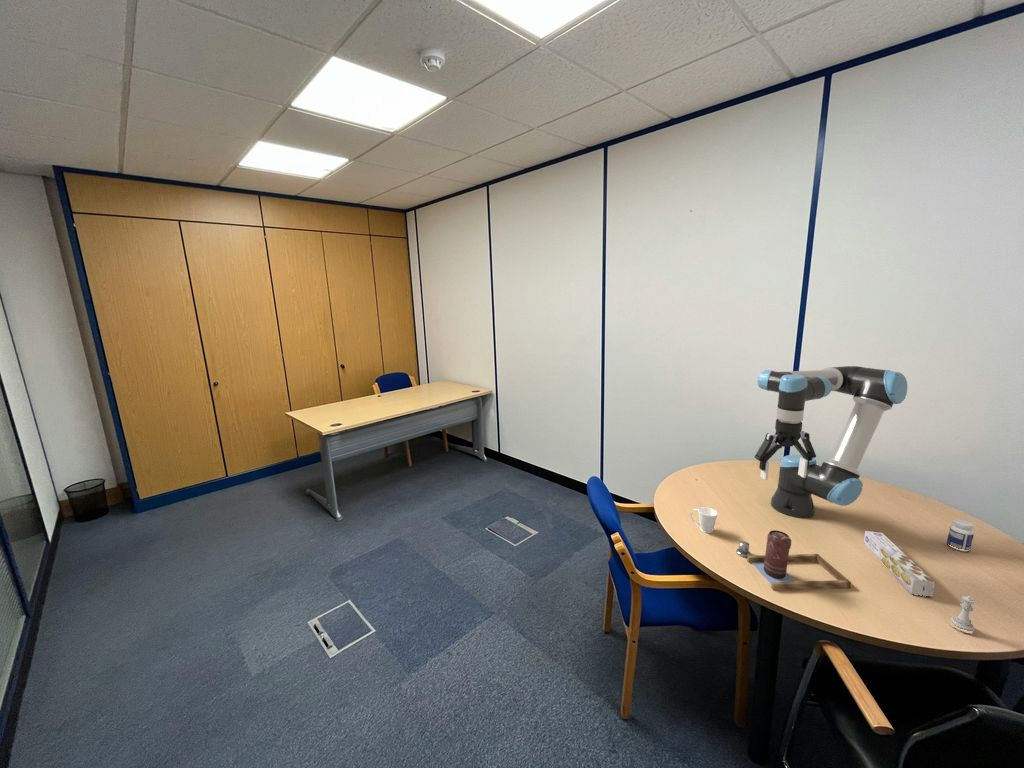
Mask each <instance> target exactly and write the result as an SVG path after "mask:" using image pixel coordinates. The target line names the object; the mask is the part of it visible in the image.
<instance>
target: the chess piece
mask: <svg viewBox="0 0 1024 768" xmlns="http://www.w3.org/2000/svg"><path fill="white" fill-rule="evenodd" d="M961 599H962V600H963V603H961V602H960V603H959V607H961V612H960V613H959V614H957V615H955V616H952V617H951V618H950V620H951V622H952V624H954V625H955V626H957V627H958V628H960V629H964V630H967V631H973V630H974V631H975V626H974V625H973V623H972V620H971V619H970V612H973V611H974V608H973V606H972V605H973V604H975V603H976V600H974V599H973V598H972V596H970V595H968V596H967V595H962V597H961Z"/></svg>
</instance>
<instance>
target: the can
mask: <svg viewBox="0 0 1024 768" xmlns="http://www.w3.org/2000/svg"><path fill="white" fill-rule="evenodd" d="M791 547H792V539H791V538H790V536H789V535H788V534H787V533H785V532H783V531H781V530H774V529H773V530H770V531H769V532H768V533H767V538H766V548H765V553H764V555H765V561H764V571H765V573H766V574H767V575H769V576H770V577H773V578H776V579H782V578H784V577H785V576H786V573H787V568H788V564H789V563H788V556H789V555H790V550H791Z"/></svg>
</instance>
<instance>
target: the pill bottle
mask: <svg viewBox="0 0 1024 768" xmlns="http://www.w3.org/2000/svg"><path fill="white" fill-rule="evenodd" d="M952 523H953V524H952V525H950V526H949V529H948V530H949V531H948V535H947V539H946V540H947V541H946V544H947V543H948V544H949V545H951V546H953V547H956V548H958V549H964V550H969V549H970V550H971V548H972V545H973V540H974V535H975V532H974V530H973V529H974V523H972V522H970V521H967V520H964V519H960V518H956V519H954V520H953V522H952Z"/></svg>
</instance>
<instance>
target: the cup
mask: <svg viewBox="0 0 1024 768" xmlns="http://www.w3.org/2000/svg"><path fill="white" fill-rule="evenodd" d="M694 511H695V512H696V513H697V512H698V521H699V524H698V523H697V522H696V521H695V520H694V517H693V516H692V515H693V512H694ZM717 517H718V511H717V510H715V509H714V508H711V507H707V506H703V507H699V508H698V509H697V508H693V509H692V510H691V511H690V513H689V518H690V520H691V521H692V522H693V524H694V525H695V526H696V527H698V528H699V529H700V531H701V532H702V533H705V534H712V533H713V530H714V527H715V525H716V521H717Z"/></svg>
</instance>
